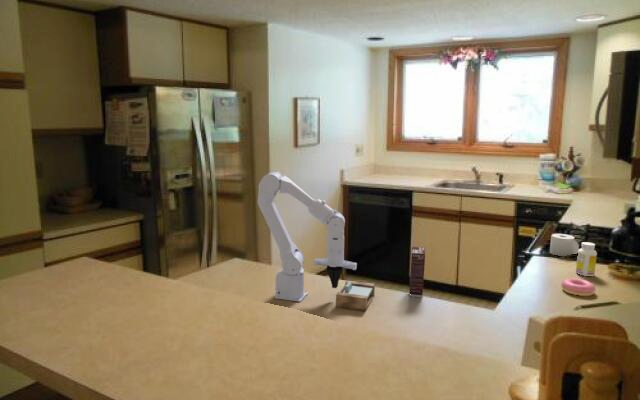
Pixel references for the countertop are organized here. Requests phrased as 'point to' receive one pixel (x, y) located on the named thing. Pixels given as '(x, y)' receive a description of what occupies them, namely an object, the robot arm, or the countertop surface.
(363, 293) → the lid
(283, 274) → the robot arm
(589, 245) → the supplement bottle
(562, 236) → the toilet tissue
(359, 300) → the box
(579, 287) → the doughnut
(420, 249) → the supplement box
